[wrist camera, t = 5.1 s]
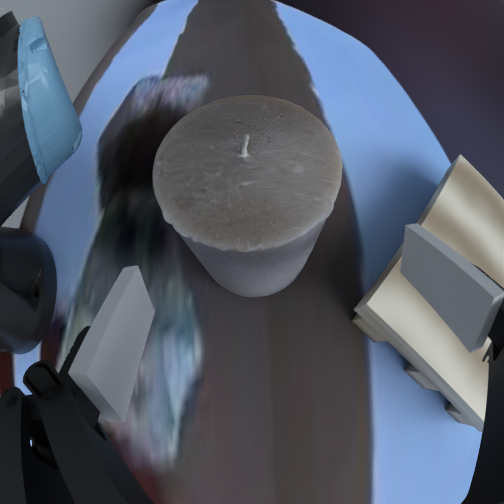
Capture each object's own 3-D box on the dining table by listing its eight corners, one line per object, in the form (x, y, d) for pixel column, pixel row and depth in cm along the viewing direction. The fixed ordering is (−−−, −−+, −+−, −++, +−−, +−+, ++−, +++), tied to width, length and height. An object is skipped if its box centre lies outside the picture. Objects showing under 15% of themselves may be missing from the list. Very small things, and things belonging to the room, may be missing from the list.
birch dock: (462, 426, 19) (496, 435, 13) (343, 313, 24) (366, 304, 18) (527, 288, 23) (557, 276, 18) (436, 182, 28) (460, 154, 22)
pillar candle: (240, 184, 28) (220, 61, 14) (326, 231, 26) (378, 122, 12) (182, 263, 26) (102, 177, 12) (272, 321, 24) (282, 291, 10)
